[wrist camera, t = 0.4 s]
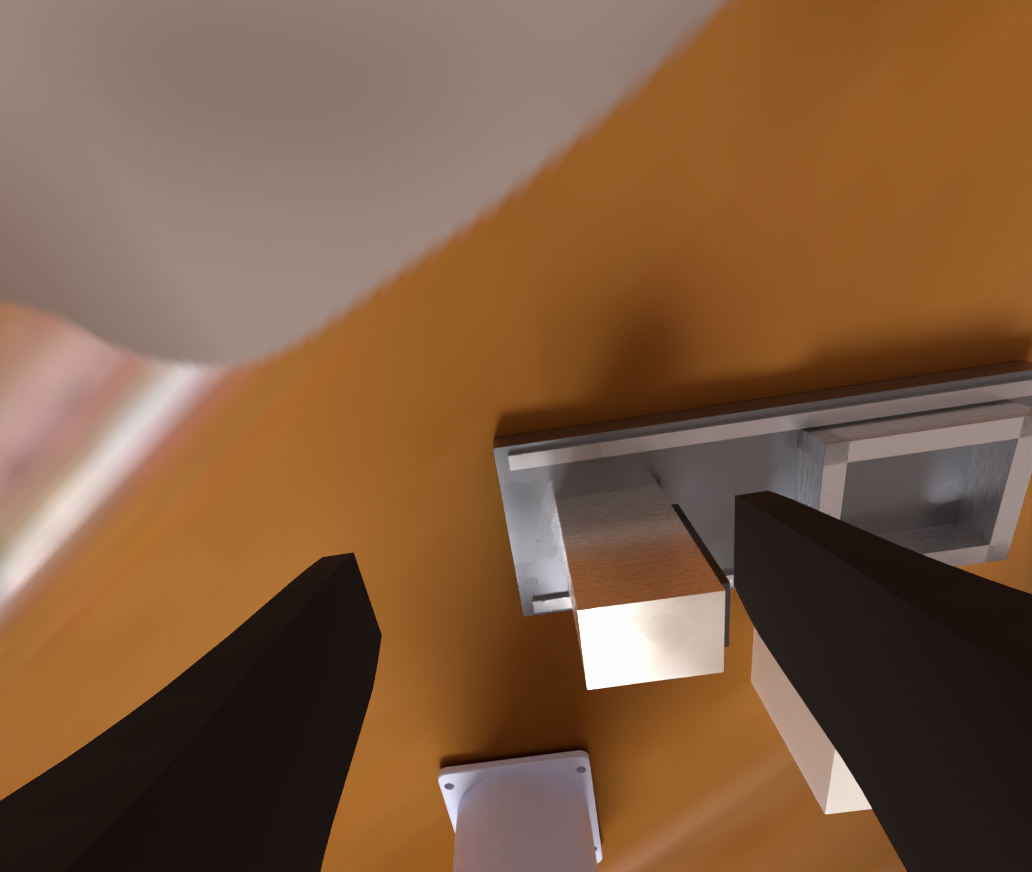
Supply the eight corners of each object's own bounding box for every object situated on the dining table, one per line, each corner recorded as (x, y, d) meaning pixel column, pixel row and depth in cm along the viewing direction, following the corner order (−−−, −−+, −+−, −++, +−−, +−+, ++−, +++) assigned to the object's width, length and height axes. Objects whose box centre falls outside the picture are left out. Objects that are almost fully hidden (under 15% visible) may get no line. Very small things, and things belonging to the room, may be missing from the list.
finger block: (751, 681, 24) (825, 814, 19) (754, 613, 22) (837, 736, 17) (811, 674, 24) (904, 804, 19) (819, 604, 22) (924, 725, 17)
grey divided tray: (976, 538, 21) (1185, 672, 15) (522, 600, 22) (531, 754, 15) (1022, 360, 18) (1310, 428, 12) (493, 438, 19) (489, 544, 12)
